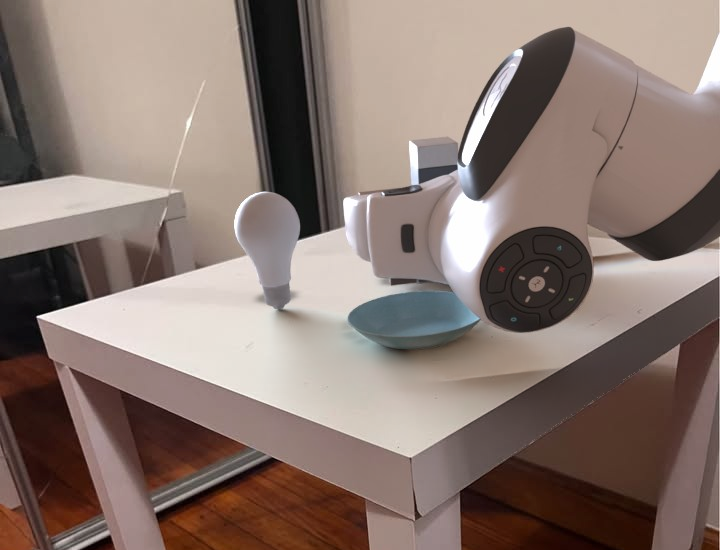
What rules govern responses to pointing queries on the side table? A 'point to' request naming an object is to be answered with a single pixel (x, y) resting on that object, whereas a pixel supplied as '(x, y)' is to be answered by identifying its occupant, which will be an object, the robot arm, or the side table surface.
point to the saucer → (413, 319)
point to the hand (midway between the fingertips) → (445, 195)
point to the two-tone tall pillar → (432, 158)
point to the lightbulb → (269, 242)
